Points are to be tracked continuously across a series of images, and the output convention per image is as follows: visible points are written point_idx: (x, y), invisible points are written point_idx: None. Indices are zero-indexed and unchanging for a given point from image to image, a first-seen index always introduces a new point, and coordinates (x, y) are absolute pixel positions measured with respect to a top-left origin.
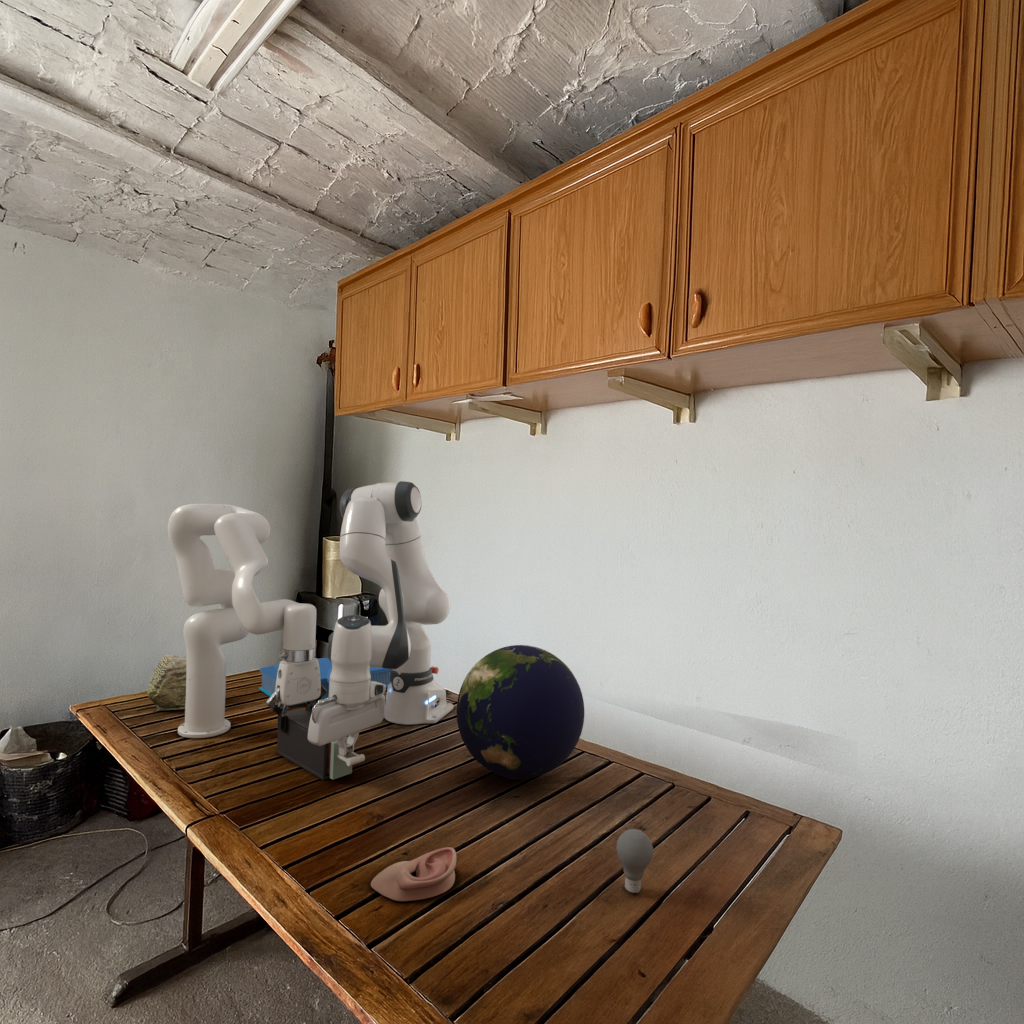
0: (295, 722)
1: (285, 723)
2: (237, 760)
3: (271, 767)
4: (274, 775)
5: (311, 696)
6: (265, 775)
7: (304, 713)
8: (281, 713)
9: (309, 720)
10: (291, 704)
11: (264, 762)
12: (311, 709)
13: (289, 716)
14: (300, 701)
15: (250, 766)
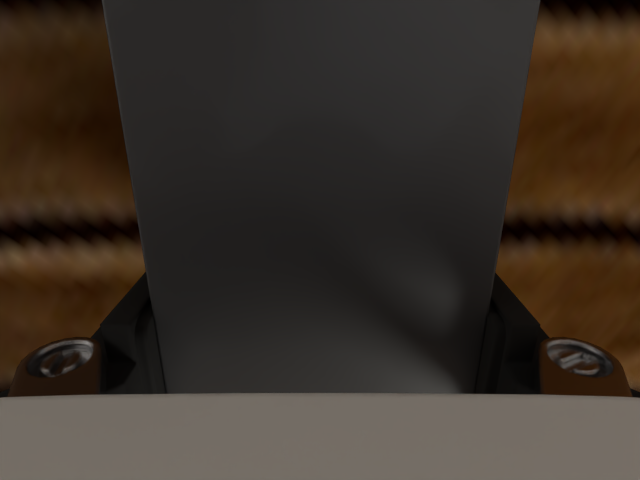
0: (515, 124)
1: (501, 282)
2: (577, 330)
3: (528, 133)
4: (596, 5)
5: (40, 471)
6: (627, 47)
7: (245, 327)
8: (619, 376)
9: (336, 32)
10: (636, 399)
11: (508, 222)
12: (127, 354)
13: (442, 347)
14: (402, 413)
15: (589, 224)
